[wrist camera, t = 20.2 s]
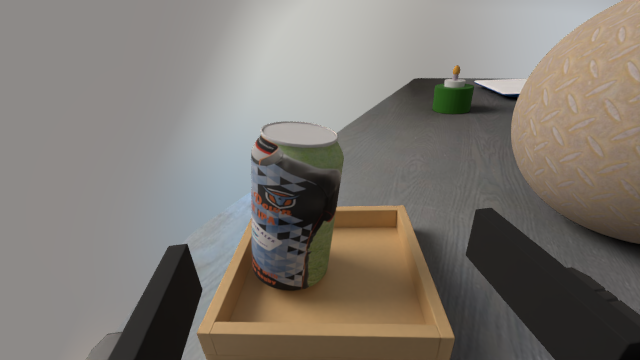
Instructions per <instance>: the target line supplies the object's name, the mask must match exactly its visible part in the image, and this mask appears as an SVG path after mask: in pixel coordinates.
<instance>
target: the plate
mask: <svg viewBox="0 0 640 360" xmlns="http://www.w3.org/2000/svg"><path fill="white" fill-rule="evenodd" d="M526 81H527V79H505V80H478V81H473V82H474V83H476V84H478V85H480V86H483V87H485V88H487V89H490V90H492V91H494V92H497V93H499V94H501V95H504V96H509V97H519V95H520V93H521V90H522V88H523V86H524V84H525V83H526Z"/></svg>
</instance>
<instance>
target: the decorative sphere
mask: <svg viewBox="0 0 640 360" xmlns="http://www.w3.org/2000/svg"><path fill="white" fill-rule="evenodd" d="M511 140H512V148H513V152H514V156H515V159H516V162H517V165H518V167H519V169H520V171H521V173H522V175H523V176H524V178H525V180H526V181H527V183H528V184H529V185H530V187H531V188H532V189H533V190H534V191H535V193H536V194H537V195H538V196H539V197H540V198H541V199H542V200H543V201H544V202H546V203H547V204H548V205H549V206H550V207H552V208H553V209H554V210H556V211H557V212H559V213H560V214H562V215H563V216H565V217H566V218H568V219H570V220H572V221H573V222H575V223H577V224H579V225H581V226H583V227H586V228H588V229H590V230H593V231H595V232H598V233H600V234H603V235H606V236H610V237H613V238H616V239H620V240H624V241H628V242H632V243H637V244H640V0H623V1H621V2H619V3H617V4H615V5H613V6H611V7H609V8H608V9H606V10H604V11H602V12H600V13H599V14H597V15H595V16H594V17H592V18H591V19H589V20H587V21H586V22H584V23H583V24H581V25H580V26H579V27H577V28H576V29H574V31H572V32H571V33H570V34H568V35H567V36H566V37H564V38H563V39H562V40H561V41H560V42H559V43H558V44H557V45H556V46H554V47H553V48H552V49H551V50H550V51H549V52H548V53H547V54H546V56H545V57H544V58H543V59H542V60H541V61H540V62H539V64H538V65H537V66H536V68H535V69H534V70H533V72H532V73H531V75H530V76H529V78H528V79H527V81H526V83H525V84H524V86H523V88H522V90H521V93H520V95H519V97H518V100H517V102H516V105H515V109H514V113H513V117H512V126H511Z"/></svg>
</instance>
